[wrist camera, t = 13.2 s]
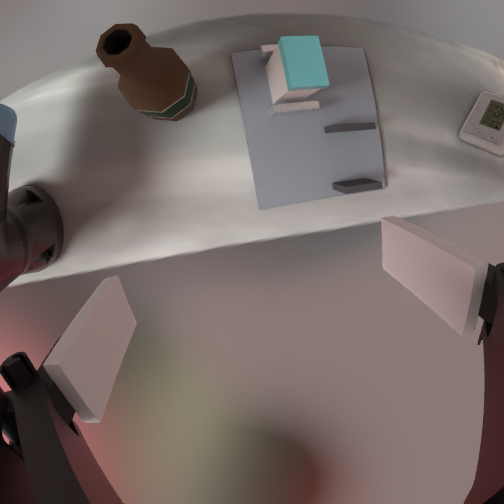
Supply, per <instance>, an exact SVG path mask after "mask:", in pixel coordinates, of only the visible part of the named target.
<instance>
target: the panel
mask: <svg viewBox="0 0 504 504" xmlns="http://www.w3.org/2000/svg"><path fill="white" fill-rule="evenodd" d="M321 49H322V53H323V57H324V62H325V66H326V71H327V75H328V80H329V86H328V87H326V88H324V89H320V90H318V91H317V92H315V93H313V94H311V95H310V96H308V97H306V98H305V99H303V100H301V101H299V102H308V101H318V102H319V107H320V108H318V109H316V110H313V111H311V112H308V113H298V114H289V115H280V116H272V117H268V112H267V110H268V109H269V108H270V107H272V106H273V105H278V104H273V102H272V97H271V92H270V87H269V82H268V77H267V72H266V65H267V63H268V62H260V63H258V61H257V55H258V52H259V50H260V49H259V50H250V51H242V52H234V53H231V59H232V64H233V69H234V74H235V79H236V85H237V90H238V95H239V101H240V106H241V111H242V117H243V122H244V127H245V133H246V138H247V144H248V149H249V155H250V160H251V166H252V172H253V177H254V183H255V189H256V194H257V200H258V206H259V209H260V210H262V209H267V208H273V207H278V206H284V205H289V204H295V203H301V202H306V201H312V200H318V199H324V198H330V197H336V196H343V195H349V194H344V193H341V192H339V191H336V190H333V187H332V183H334V182H341V181H348V180H356V179H363V178H368V179H372V180H376V181H380V182H382V187H383V189H386V188H385V175H384V165H383V155H382V147H381V139H380V131H379V125H378V118H377V112H376V106H375V100H374V95H373V90H372V85H371V80H370V75H369V71H368V66H367V62H366V58H365V54H364V50H363V48H359V47H337V46H321ZM289 103H297V102H289ZM279 104H287V103H279ZM367 122H375V125H376V129H372V130H361V131H346V132H334V133H325V130H324V127H326V126H331V125H336V124H348V123H367ZM377 190H382V189H377ZM370 191H375V190H370ZM364 192H369V191H364ZM357 193H362V192H357ZM351 194H355V193H351Z"/></svg>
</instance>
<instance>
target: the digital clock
mask: <svg viewBox="0 0 504 504" xmlns="http://www.w3.org/2000/svg"><path fill="white" fill-rule="evenodd" d="M458 137H459V139H460V140H461V141H462V142H464V143H467V144H469V145H472V146H474V147H476V148H477V149H481V150H484V151H486V152H488V153H491V154H493V155H495V156H497V157H503V156H504V96H501V95H498V94H494V93H491V92H487V91H482V92H481V93H480V95H479V97H478V99H477V101H476V103H475V104H474V106H473V108H472V110H471V112H470V114H469V115H468V117H467V119H466V121H465V123H464V124H463V126H462V128H461V130H460V132H459V135H458Z"/></svg>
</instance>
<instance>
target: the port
mask: <svg viewBox="0 0 504 504" xmlns="http://www.w3.org/2000/svg"><path fill="white" fill-rule="evenodd" d="M277 45H278V44H272V45H261V47H260V50H259V52H258V55H257V61H258V63H260V62H268V61H269V59H270V58H271V56H272V54H273V52H274V50H275V49H276V47H277ZM318 108H320V107H319V102H318V101H308V102H297V103H287V104H278V105H273V106H272V107H270V108H269V109H268V110H267V112H268V117H272V116H280V115H289V114H298V113H308V112H311V111H313V110H316V109H318Z"/></svg>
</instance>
